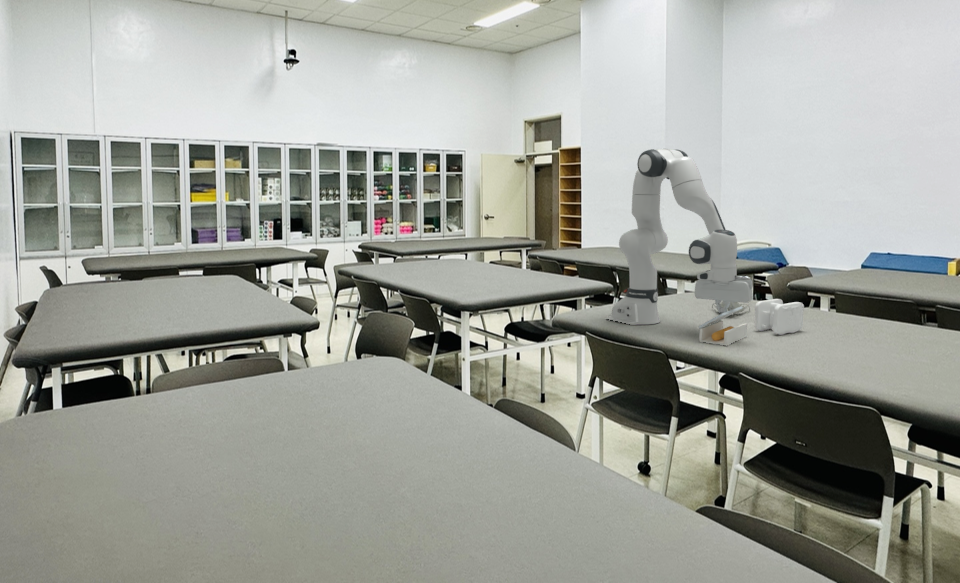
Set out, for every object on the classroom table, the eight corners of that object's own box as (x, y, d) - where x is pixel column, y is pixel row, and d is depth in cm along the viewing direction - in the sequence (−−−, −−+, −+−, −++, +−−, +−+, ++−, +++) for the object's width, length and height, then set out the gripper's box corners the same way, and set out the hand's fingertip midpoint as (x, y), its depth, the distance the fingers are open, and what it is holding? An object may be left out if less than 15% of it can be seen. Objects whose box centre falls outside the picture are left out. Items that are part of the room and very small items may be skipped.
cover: (699, 328, 229) (698, 326, 229) (720, 320, 242) (719, 318, 242) (722, 315, 222) (721, 313, 223) (742, 307, 235) (741, 306, 235)
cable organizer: (779, 326, 251) (780, 297, 249) (803, 331, 242) (805, 301, 240) (753, 331, 244) (754, 301, 242) (777, 336, 235) (779, 305, 233)
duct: (699, 342, 230) (699, 328, 229) (720, 333, 243) (720, 320, 242) (726, 346, 223) (727, 332, 222) (746, 336, 236) (747, 323, 235)
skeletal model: (750, 310, 286) (752, 278, 266) (749, 328, 281) (751, 296, 262) (712, 308, 292) (711, 276, 273) (710, 325, 288) (710, 294, 268)
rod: (713, 342, 227) (708, 335, 228) (731, 334, 239) (726, 327, 239) (719, 339, 225) (715, 331, 226) (737, 331, 237) (733, 324, 237)
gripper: (756, 275, 225) (755, 314, 227) (700, 272, 239) (699, 308, 241) (749, 277, 220) (748, 316, 222) (692, 274, 234) (692, 311, 236)
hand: (722, 312), depth 232 cm, fingers closed
